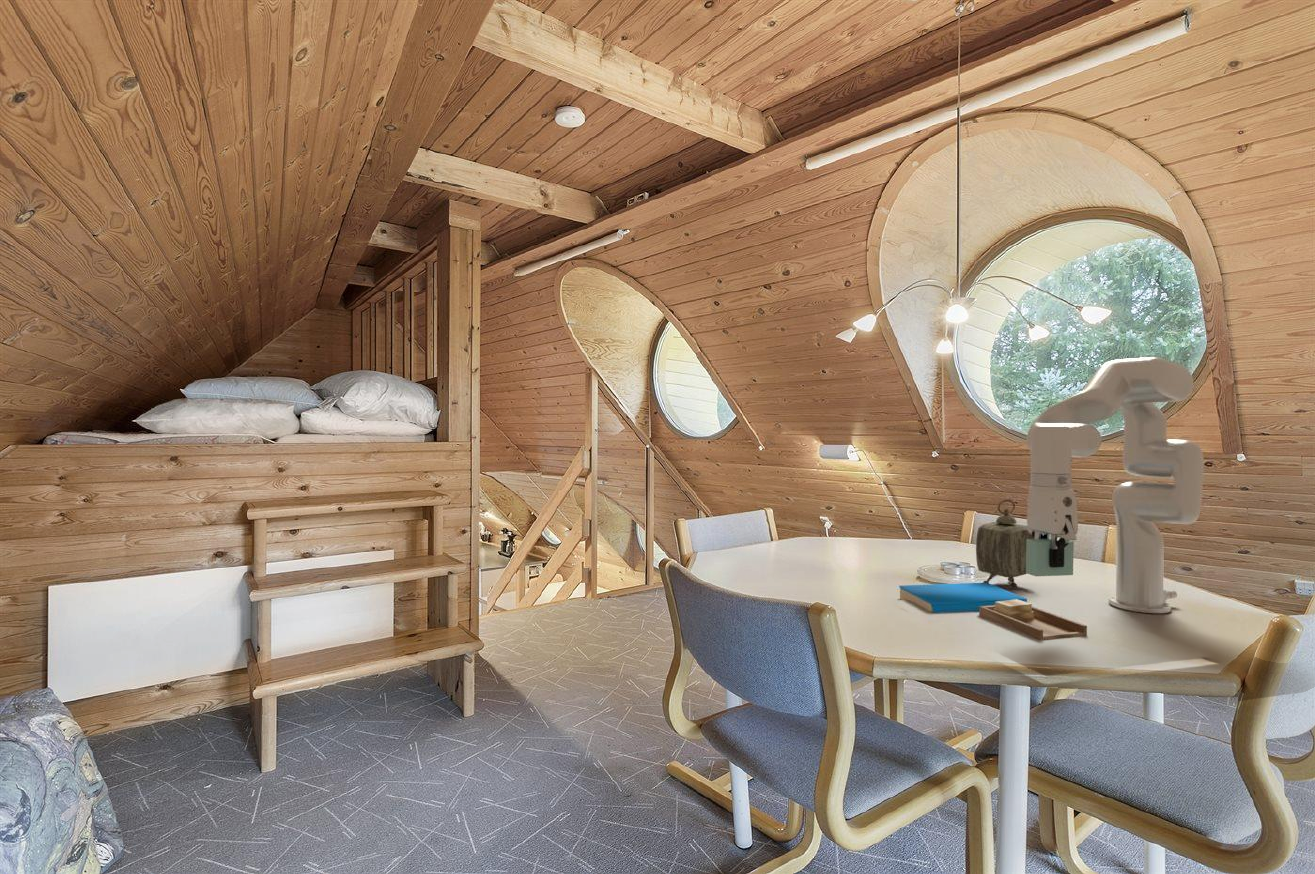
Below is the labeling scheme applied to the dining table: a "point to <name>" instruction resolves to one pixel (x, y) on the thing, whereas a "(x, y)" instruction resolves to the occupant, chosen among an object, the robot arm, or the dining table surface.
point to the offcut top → (1013, 606)
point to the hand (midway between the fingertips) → (1050, 564)
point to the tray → (1037, 624)
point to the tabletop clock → (1002, 547)
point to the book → (956, 596)
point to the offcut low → (1019, 615)
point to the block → (1046, 558)
